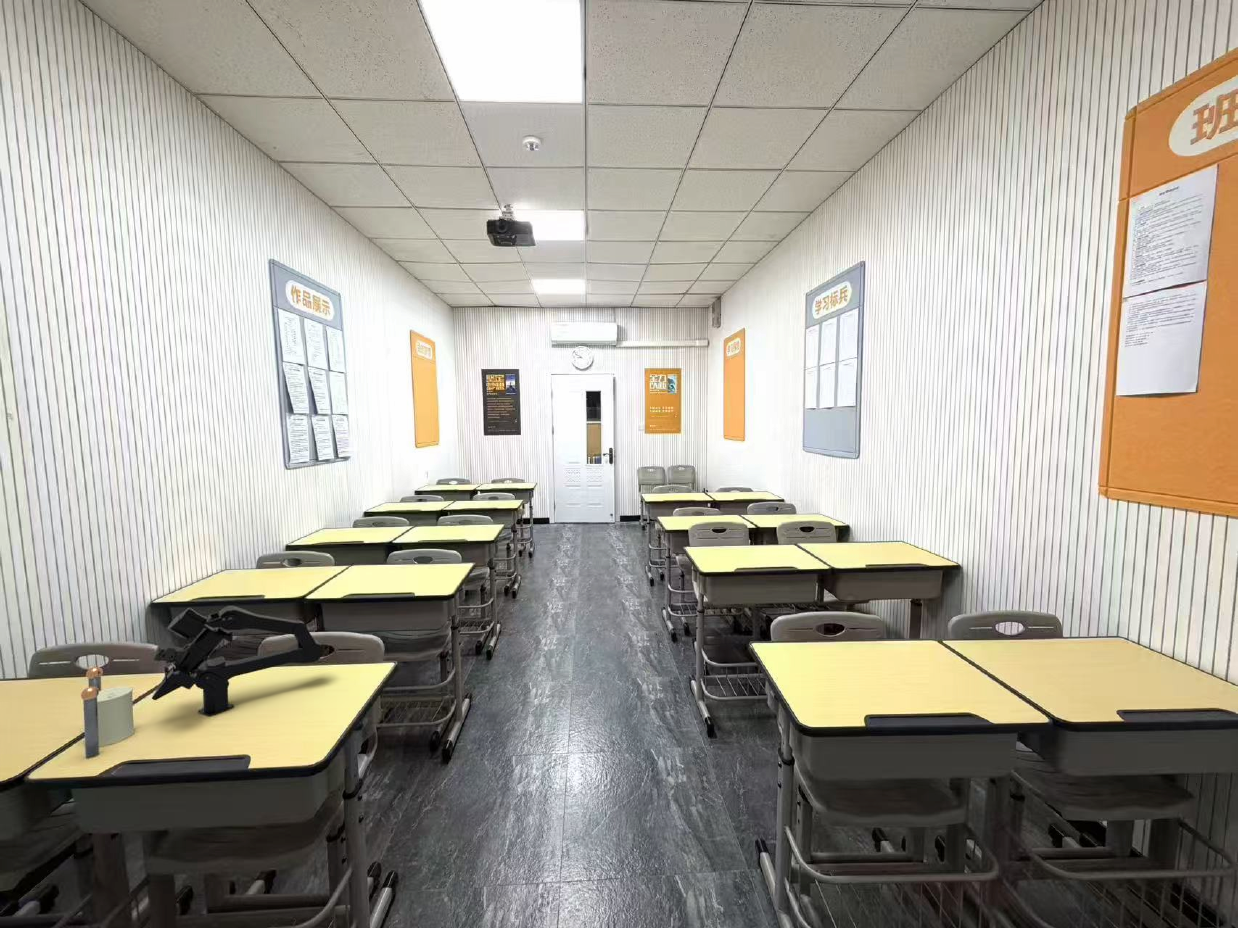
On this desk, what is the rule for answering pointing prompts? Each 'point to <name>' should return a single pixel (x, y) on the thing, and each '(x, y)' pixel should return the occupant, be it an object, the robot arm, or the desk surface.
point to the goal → (91, 711)
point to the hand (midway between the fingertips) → (153, 699)
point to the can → (115, 715)
